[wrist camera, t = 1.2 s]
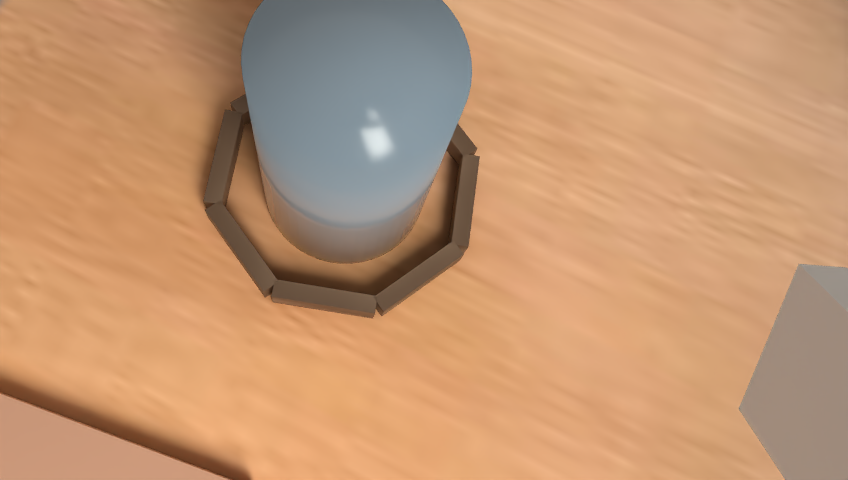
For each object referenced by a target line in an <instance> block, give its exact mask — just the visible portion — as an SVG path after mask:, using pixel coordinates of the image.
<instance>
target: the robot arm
mask: <svg viewBox="0 0 848 480" xmlns="http://www.w3.org/2000/svg"><path fill="white" fill-rule="evenodd" d="M739 410H740V412H741V413H742V415H743V416H744V418H745V419H746V421H747V422H748V424H749V425H750V427H751V428H752V430H753V431H754V433H755V434H756V436H757V437H758V439H759V441H760V442H761V444H762V445H763V447H764V448H765V450H766V451H767V453H768V454H769V456H770V457H771V459H772V460H773V462H774V463H775V465H776V466H777V468H778V469H779V471H780V472H781V474H782V475H783V477H784V478H785V480H848V268H845V267H832V266H819V265H806V264H799V265H798V267H797V270H796V272H795V274H794V277H793V279H792V282H791V284H790V286H789V289H788V291H787V294H786V296H785V299H784V301H783V303H782V306H781V308H780V311H779V313H778V315H777V318H776V320H775V323H774V325H773V327H772V330H771V332H770V335H769V337H768V339H767V342H766V344H765V347H764V349H763V352H762V354H761V356H760V359H759V361H758V364H757V366H756V368H755V371H754V373H753V376H752V378H751V380H750V383H749V385H748V388H747V390H746V393H745V395H744V397H743V400H742V402H741V405H740V407H739Z"/></svg>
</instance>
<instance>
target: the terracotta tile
mask: <svg viewBox="0 0 848 480" xmlns="http://www.w3.org/2000/svg"><path fill="white" fill-rule="evenodd" d="M0 480H232V479H230V478H227V477H224V476H222V475H219V474H216V473H214V472H211V471H208V470H206V469H203V468H200V467H198V466H195V465H192V464H190V463H187V462H184V461H182V460H179V459H176V458H174V457H171V456H168V455H166V454H163V453H161V452H158V451H155V450H153V449H150V448H147V447H145V446H142V445H139V444H137V443H134V442H131V441H129V440H126V439H123V438H121V437H118V436H115V435H113V434H110V433H107V432H105V431H102V430H99V429H97V428H94V427H91V426H89V425H86V424H84V423H81V422H78V421H76V420H73V419H70V418H68V417H65V416H62V415H60V414H57V413H54V412H52V411H49V410H46V409H44V408H41V407H38V406H36V405H33V404H30V403H28V402H25V401H22V400H20V399H17V398H14V397H12V396H9V395H6V394H4V393H1V392H0Z"/></svg>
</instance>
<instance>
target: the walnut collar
mask: <svg viewBox="0 0 848 480" xmlns="http://www.w3.org/2000/svg"><path fill="white" fill-rule="evenodd" d="M231 108H232V111H230V110H225V112H224V117H223V121H222V125H221V129H220V133H219V137H218V142H217V146H216V150H215V154H214V158H213V163H212V167H211V171H210V175H209V179H208V183H207V188H206V192H205V196H204V200H203V202H204V204H205V206H206V209H205V211H206V213H207V216H208V218H209V219H210V221H211V222H212V224H213V225H214V226H215V228H216V229H217V231H218V232H219V233H220V235H221V236H222V238H223V239H224V240H225V242H226V243H227V245H228V246H229V247H230V249H231V250H232V252H233V253H234V255H235V256H236V257H237V259H238V260H239V262H240V263H241V264H242V266H243V267H244V269H245V270H246V271H247V273H248V274H249V276H250V277H251V278H252V280H253V281H254V283H255V284H256V285H257V287H258V288H259V290H260V291H261V293H262V294H263V295H264V297H266V296H268V295H269V294H271V293H272V296H271V297H272V301H273V302H275V303H281V304H287V305H293V306H300V307H306V308H312V309H318V310H324V311H330V312H337V313H343V314H349V315H355V316H361V317H367V318H373V317H374V314H375V309H377V311H378V312H379V313H380V315H381V316H383V315H384V314H386V313H387V312H388V311H390V310H391V309H393V308H394V307H395V306H397V305H398V304H400V303H401V302H402V301H404V300H405V299H407V298H408V297H409V296H411V295H412V294H414V293H415V292H416V291H418V290H419V289H421V288H422V287H423V286H425V285H426V284H428V283H429V282H430V281H432V280H433V279H435V278H436V277H437V276H439V275H440V274H442V273H443V272H444V271H446V270H447V269H449V268H450V267H451V266H453V265H454V264H456V263H457V262H458V261H459V260H460V259H461V258H462V256H463V255H464V252H465V251H466V249H467V248H468V246H469V238H470V230H471V221H472V213H473V205H474V197H475V189H476V181H477V173H478V165H479V157H480V156H475V155H474V154H475V152H476V150H477V148H476V146H475V145H474V144H473V142H472V141H471V140H470V139H469V137H468V136H467V135H466V134H465V132H464V131H463V130H462V129H461V127H460V126H459V125H458V123H457V126H456V128H455V131H454V133H453V135H452V138H451V140H450V143H449V145H448V147H447V151H448V152H449V153H450V154H451V156H452V157H453V158H454V159H455V161H456V162H457V163H458V165H459V166H458V173H457V181H456V188H455V196H454V203H453V211H452V218H451V226H450V233H449V241H448V245H447V246H445V247H444V248H442V249H441V250H439V251H438V252H437V253H435V254H434V255H432V256H431V257H429V258H428V259H427V260H425V261H424V262H422V263H421V264H420V265H418V266H417V267H415V268H414V269H412V270H411V271H410V272H408V273H407V274H405V275H404V276H403V277H401V278H400V279H398V280H397V281H395V282H394V283H393V284H391V285H390V286H388V287H387V288H385V289H384V290H383V291H381V292H380V293H378V294H377V295H376V296H374V295H368V294H362V293H356V292H350V291H344V290H338V289H332V288H326V287H320V286H314V285H307V284H301V283H295V282H289V281H283V280H277V279H276V277H275V276H274V274H273V273H272V272H271V270H270V269H269V267H268V266H267V265H266V263H265V262H264V260H263V259H262V258H261V256H260V255H259V253H258V252H257V251H256V249H255V248H254V246H253V245H252V244H251V242H250V241H249V239H248V238H247V237H246V235H245V234H244V232H243V231H242V230H241V228H240V227H239V225H238V224H237V223H236V221H235V220H234V218H233V217H232V216H231V214H230V213H229V212H228V210H227V209H226V203H227V198H228V194H229V190H230V185H231V181H232V177H233V172H234V168H235V163H236V159H237V155H238V150H239V146H240V142H241V137H242V133H243V129H244V125H246V124H248V123H249V122H251V119H250V113H249V108H248V103H247V97H246V94H245V95H243V96H241V97H240V98H238V99H236V100H234V101H233V102H231Z"/></svg>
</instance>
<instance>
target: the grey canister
mask: <svg viewBox="0 0 848 480" xmlns="http://www.w3.org/2000/svg"><path fill="white" fill-rule="evenodd" d="M241 67H242V76H243V81H244V87H245V92H246V97H247V103H248V108H249V113H250V119H251V124H252V129H253V135H254V140H255V145H256V150H257V156H258V161H259V166H260V172H261V177H262V182H263V188H264V193H265V198H266V203H267V207H268V210H269V213H270V215H271V218H272V220H273V222H274V223H275V225H276V227H277V228H278V230H279V231H280V232H281V233H282V235H283V236H284V237H285V238H286V239H287V240H288V241H289V242H290V243H291V244H292V245H294V246H295V247H296V248H298V249H299V250H301V251H302V252H304V253H306V254H308V255H310V256H312V257H315V258H317V259H320V260H324V261H327V262H333V263H359V262H364V261H368V260H372V259H374V258H377V257H379V256H382V255H384V254H385V253H387V252H389V251H391V250H392V249H393V248H395V247H396V246H397V245H399V244H400V243H401V242H402V241H403V240H404V239H405V238H406V236H407V235H408V234H409V233H410V231H411V230H412V228H413V227H414V225H415V223H416V221H417V219H418V217H419V214H420V212H421V209H422V207H423V205H424V202H425V200H426V198H427V195H428V193H429V190H430V188H431V186H432V183H433V181H434V178H435V176H436V174H437V171H438V169H439V166H440V164H441V162H442V159H443V157H444V155H445V152H446V150H447V147H448V145H449V143H450V140H451V138H452V135H453V133H454V131H455V128H456V126H457V123H458V121H459V119H460V116H461V114H462V111H463V109H464V107H465V104H466V102H467V99H468V95H469V91H470V87H471V78H472V62H471V55H470V50H469V45H468V43H467V40H466V37H465V34H464V32H463V30H462V28H461V26H460V24H459V22H458V20H457V19H456V17H455V16H454V14H453V13H452V11H451V10H450V9H449V8H448V6H447V5H446V4H445V3H444V2H443V1H442V0H263V1H262V3H261V4H260V5H259V7H258V8H257V9H256V11H255V12H254V14H253V16H252V18H251V20H250V22H249V24H248V27H247V30H246V33H245V35H244V40H243V45H242V54H241Z"/></svg>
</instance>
